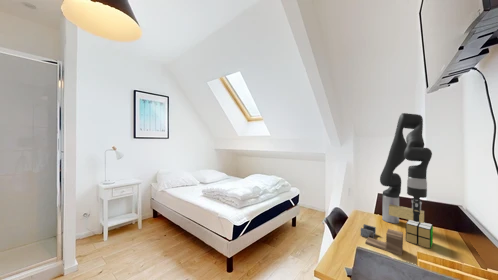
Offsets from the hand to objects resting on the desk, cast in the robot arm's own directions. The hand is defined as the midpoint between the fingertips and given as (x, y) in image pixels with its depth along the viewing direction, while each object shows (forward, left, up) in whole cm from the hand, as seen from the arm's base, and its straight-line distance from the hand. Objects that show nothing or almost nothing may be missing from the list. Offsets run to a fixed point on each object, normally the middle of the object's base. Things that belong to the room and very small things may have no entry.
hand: (416, 220), depth 96 cm
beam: (+9, -12, -15) cm, 21 cm away
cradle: (0, -21, -15) cm, 26 cm away
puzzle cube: (-11, +1, -15) cm, 19 cm away
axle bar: (0, -4, 0) cm, 4 cm away
